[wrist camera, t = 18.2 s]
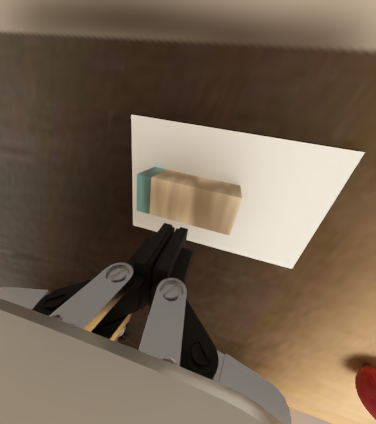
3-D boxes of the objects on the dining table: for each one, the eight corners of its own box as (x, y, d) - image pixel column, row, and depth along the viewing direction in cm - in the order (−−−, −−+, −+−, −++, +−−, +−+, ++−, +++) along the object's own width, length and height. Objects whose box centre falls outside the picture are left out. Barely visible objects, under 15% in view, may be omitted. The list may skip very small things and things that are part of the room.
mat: (359, 151, 14) (364, 152, 14) (290, 265, 21) (291, 268, 20) (134, 115, 17) (131, 114, 17) (135, 223, 24) (133, 225, 23)
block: (242, 198, 14) (136, 173, 15) (229, 235, 16) (136, 210, 17) (240, 185, 17) (154, 166, 19) (229, 217, 19) (152, 197, 21)
